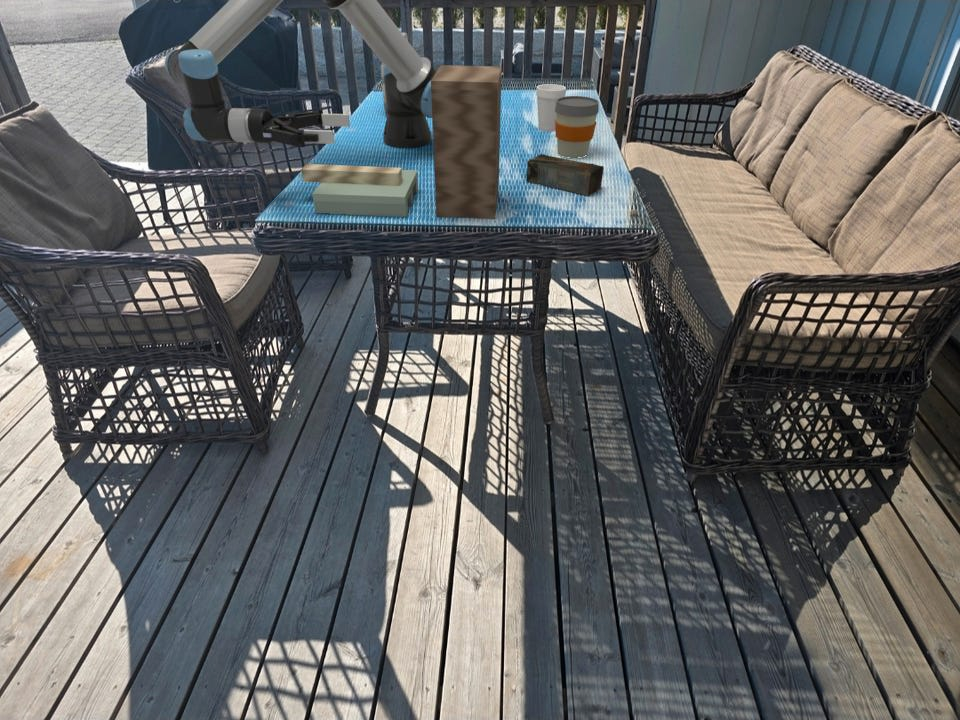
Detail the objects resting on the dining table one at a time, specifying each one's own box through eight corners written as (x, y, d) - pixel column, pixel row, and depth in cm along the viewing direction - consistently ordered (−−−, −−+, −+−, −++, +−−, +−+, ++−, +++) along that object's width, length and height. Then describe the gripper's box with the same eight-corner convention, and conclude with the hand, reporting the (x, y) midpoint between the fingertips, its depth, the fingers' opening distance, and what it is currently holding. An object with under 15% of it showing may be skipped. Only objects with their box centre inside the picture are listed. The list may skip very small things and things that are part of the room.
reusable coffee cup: (544, 155, 179) (547, 102, 170) (563, 144, 187) (568, 93, 178) (582, 163, 173) (588, 109, 164) (600, 152, 182) (606, 99, 173)
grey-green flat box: (315, 213, 143) (312, 193, 140) (336, 186, 158) (333, 167, 155) (406, 217, 142) (404, 197, 139) (418, 189, 156) (417, 170, 153)
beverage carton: (539, 174, 167) (541, 150, 163) (602, 188, 158) (606, 164, 154) (525, 182, 161) (526, 158, 157) (589, 198, 153) (592, 172, 149)
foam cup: (558, 134, 196) (562, 91, 188) (531, 131, 198) (533, 89, 191) (564, 126, 203) (568, 85, 195) (538, 123, 206) (541, 83, 198)
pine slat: (303, 181, 146) (300, 169, 145) (308, 175, 150) (306, 163, 148) (399, 185, 145) (398, 173, 143) (402, 179, 148) (401, 167, 146)
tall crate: (436, 216, 142) (430, 80, 124) (444, 191, 155) (440, 65, 137) (494, 218, 141) (497, 82, 123) (498, 193, 154) (501, 66, 136)
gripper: (275, 127, 153) (356, 129, 152) (235, 159, 133) (328, 162, 132) (269, 96, 148) (352, 98, 147) (227, 124, 128) (323, 127, 127)
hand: (341, 128), depth 139 cm, fingers open, 13 cm apart
